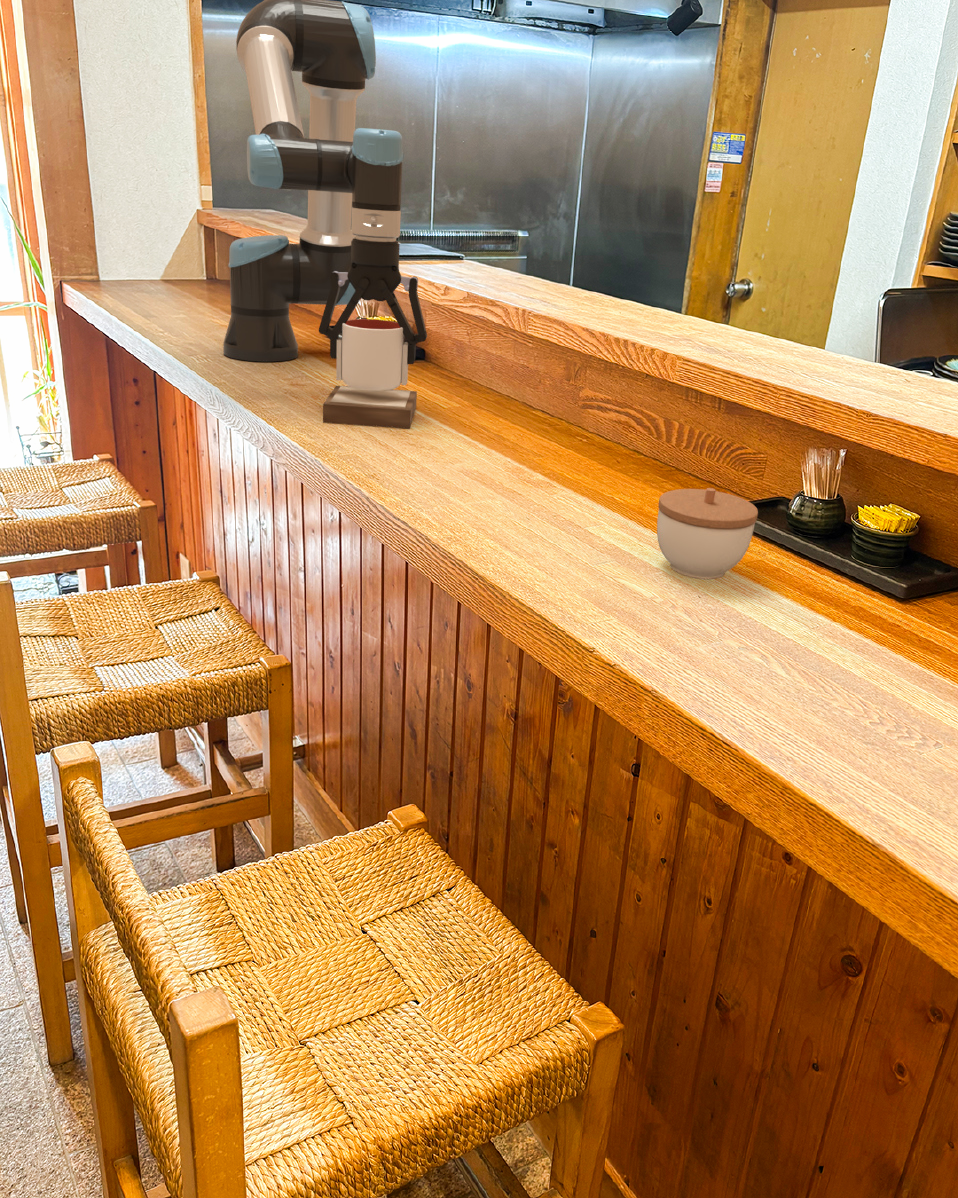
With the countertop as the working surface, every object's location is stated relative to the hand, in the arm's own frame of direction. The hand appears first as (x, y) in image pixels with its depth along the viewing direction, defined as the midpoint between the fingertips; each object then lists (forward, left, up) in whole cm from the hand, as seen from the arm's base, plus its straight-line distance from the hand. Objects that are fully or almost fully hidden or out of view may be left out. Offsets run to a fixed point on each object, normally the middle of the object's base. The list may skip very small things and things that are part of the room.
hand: (372, 381), depth 162 cm
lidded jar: (+59, +44, -6) cm, 74 cm away
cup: (0, 0, -1) cm, 1 cm away
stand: (0, 0, -6) cm, 6 cm away
